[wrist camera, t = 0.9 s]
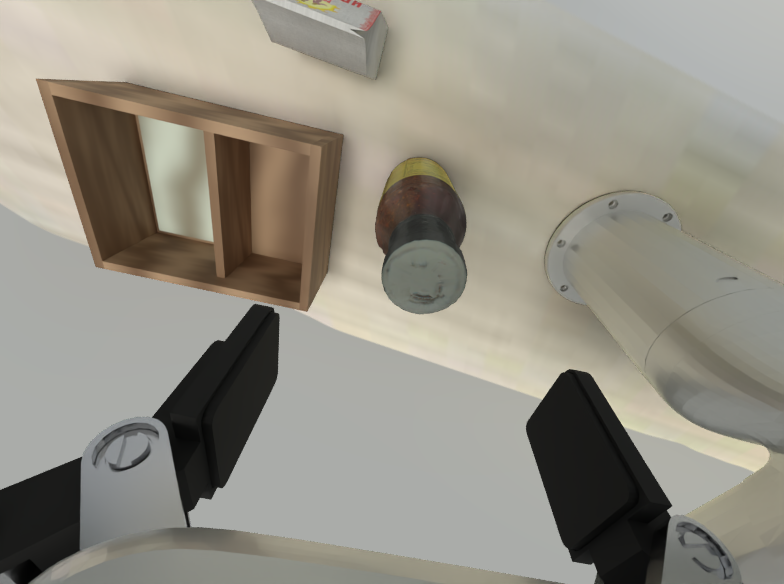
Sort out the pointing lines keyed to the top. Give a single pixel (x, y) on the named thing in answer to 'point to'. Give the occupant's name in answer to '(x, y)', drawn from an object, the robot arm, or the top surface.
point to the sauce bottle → (421, 237)
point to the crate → (197, 189)
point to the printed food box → (328, 31)
